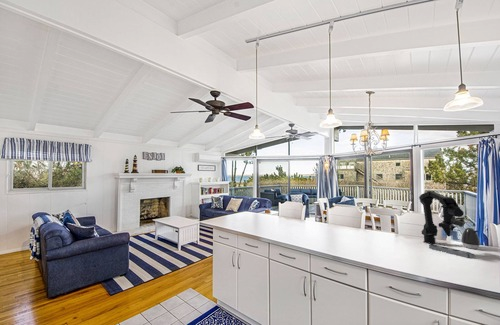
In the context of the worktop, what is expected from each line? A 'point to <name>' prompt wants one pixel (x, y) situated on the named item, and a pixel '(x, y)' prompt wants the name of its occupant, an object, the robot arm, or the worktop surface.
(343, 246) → the worktop surface
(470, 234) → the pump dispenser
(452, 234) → the blue notched pillar
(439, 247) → the rail
